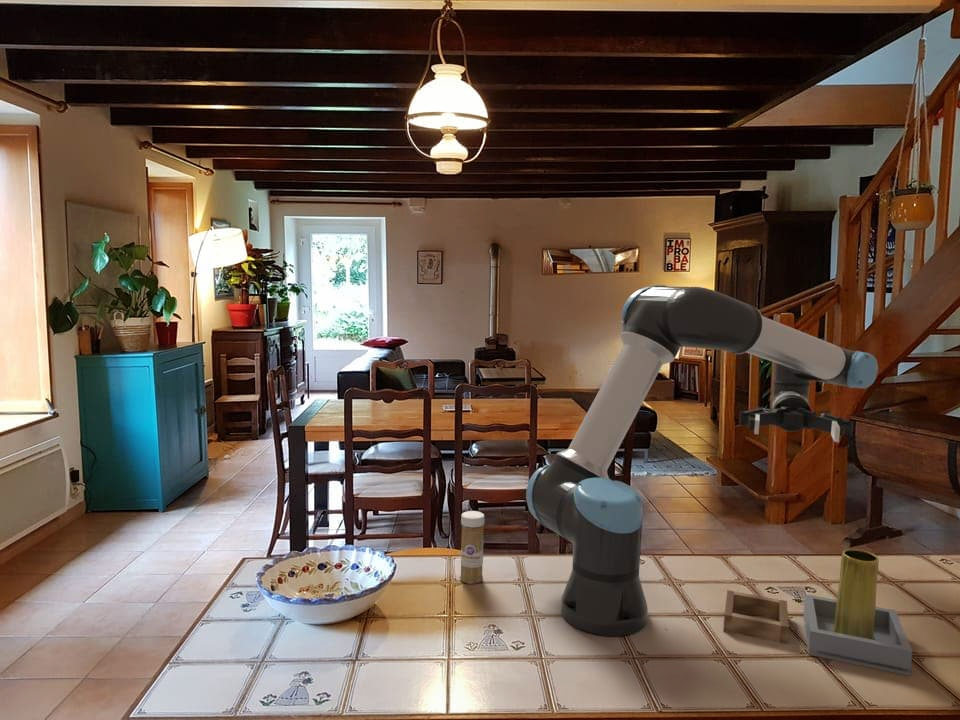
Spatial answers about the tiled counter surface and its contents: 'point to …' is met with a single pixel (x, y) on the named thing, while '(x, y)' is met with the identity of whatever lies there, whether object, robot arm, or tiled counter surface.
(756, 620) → the socket
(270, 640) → the tiled counter surface
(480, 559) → the sprinkles bottle
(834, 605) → the tray
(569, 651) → the tiled counter surface
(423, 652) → the tiled counter surface
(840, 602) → the vase
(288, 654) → the tiled counter surface
